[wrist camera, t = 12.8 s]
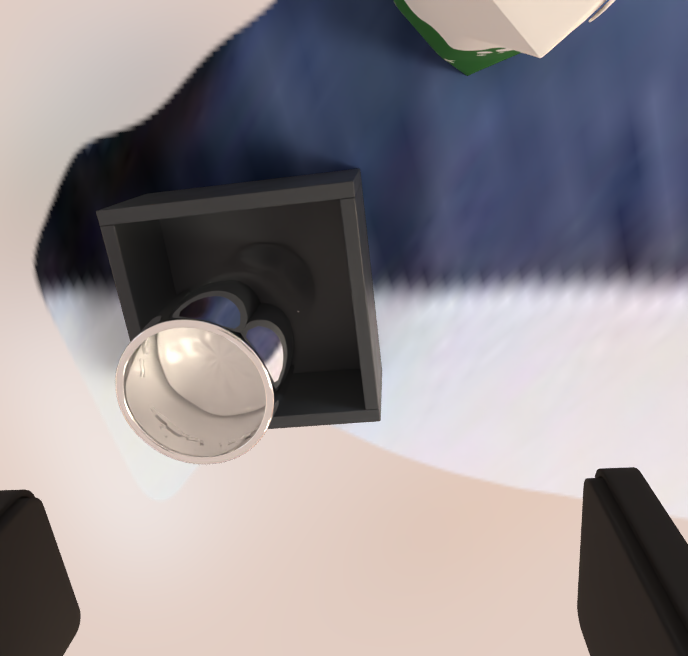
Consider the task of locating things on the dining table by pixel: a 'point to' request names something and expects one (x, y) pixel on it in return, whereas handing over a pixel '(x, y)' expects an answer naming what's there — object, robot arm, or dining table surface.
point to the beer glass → (217, 358)
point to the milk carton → (495, 27)
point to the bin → (278, 229)
